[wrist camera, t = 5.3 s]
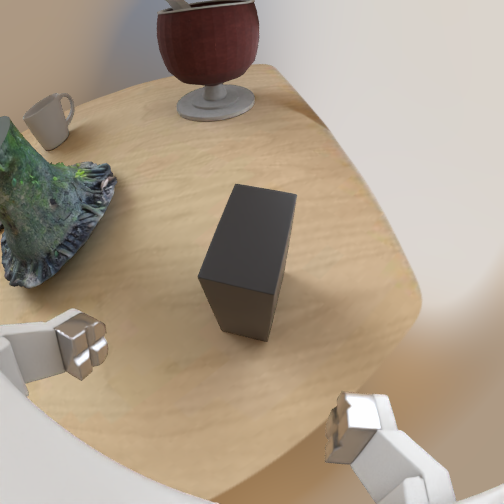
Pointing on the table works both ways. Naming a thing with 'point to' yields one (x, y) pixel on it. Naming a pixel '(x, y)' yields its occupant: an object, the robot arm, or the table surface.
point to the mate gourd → (210, 54)
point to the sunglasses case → (248, 260)
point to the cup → (49, 121)
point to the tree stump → (45, 208)
